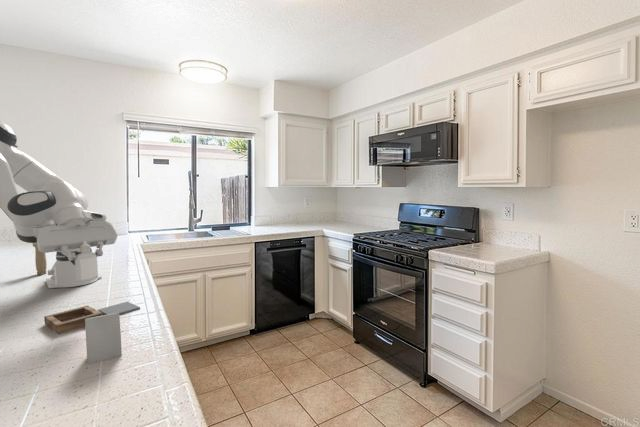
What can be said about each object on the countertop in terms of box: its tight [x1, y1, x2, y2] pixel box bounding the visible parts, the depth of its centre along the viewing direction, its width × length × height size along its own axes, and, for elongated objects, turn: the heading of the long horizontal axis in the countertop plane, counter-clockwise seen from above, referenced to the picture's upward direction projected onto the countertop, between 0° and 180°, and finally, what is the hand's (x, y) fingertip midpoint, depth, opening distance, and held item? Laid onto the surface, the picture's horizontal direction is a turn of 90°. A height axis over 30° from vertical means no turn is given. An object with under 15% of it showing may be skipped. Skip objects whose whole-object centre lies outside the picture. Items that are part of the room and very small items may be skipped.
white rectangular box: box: [84, 313, 123, 365], centre depth 78 cm, size 4×7×10 cm, turn 125°
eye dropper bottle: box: [75, 241, 99, 282], centre depth 100 cm, size 4×6×12 cm
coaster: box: [97, 301, 141, 316], centre depth 108 cm, size 9×9×1 cm
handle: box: [32, 243, 47, 276], centre depth 152 cm, size 5×6×15 cm
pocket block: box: [43, 305, 103, 335], centre depth 98 cm, size 11×11×2 cm
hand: (86, 257), depth 99 cm, fingers closed on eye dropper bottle, 6 cm apart
